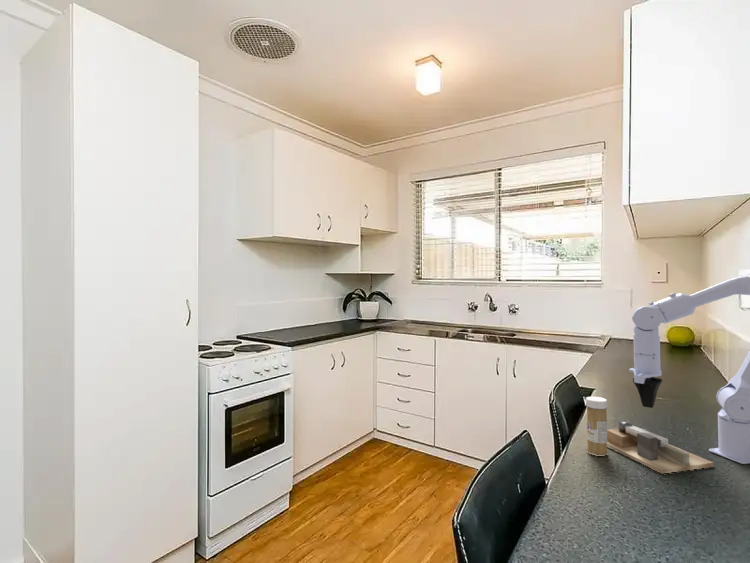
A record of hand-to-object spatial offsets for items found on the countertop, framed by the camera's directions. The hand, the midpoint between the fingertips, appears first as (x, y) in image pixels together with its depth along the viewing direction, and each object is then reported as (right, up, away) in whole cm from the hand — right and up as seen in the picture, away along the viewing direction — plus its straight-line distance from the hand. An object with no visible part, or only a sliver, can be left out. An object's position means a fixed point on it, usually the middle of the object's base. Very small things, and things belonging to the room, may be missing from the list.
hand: (648, 406), depth 109 cm
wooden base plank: (-3, -10, -7) cm, 12 cm away
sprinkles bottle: (-16, -10, -6) cm, 20 cm away
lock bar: (-6, -6, -6) cm, 10 cm away
